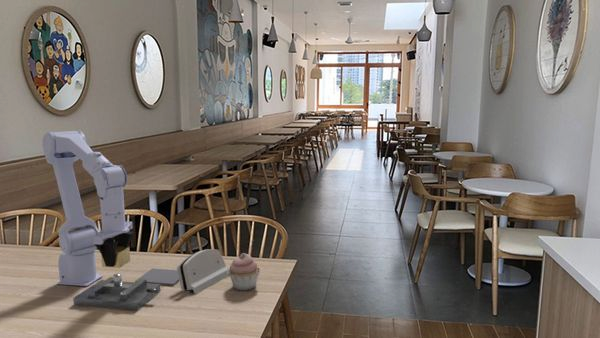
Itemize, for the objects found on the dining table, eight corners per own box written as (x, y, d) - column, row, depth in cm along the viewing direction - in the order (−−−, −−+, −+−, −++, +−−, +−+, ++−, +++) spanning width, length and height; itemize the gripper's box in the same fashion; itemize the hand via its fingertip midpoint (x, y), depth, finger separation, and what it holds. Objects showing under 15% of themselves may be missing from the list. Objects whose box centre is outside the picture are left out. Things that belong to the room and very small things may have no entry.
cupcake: (220, 286, 128) (219, 253, 127) (246, 277, 135) (245, 245, 134) (242, 296, 122) (241, 260, 121) (267, 286, 129) (267, 252, 127)
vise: (73, 305, 117) (71, 281, 116) (101, 286, 129) (100, 264, 128) (146, 311, 114) (145, 286, 113) (169, 291, 125) (167, 269, 124)
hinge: (195, 294, 123) (184, 259, 124) (182, 296, 126) (172, 262, 126) (232, 273, 138) (222, 242, 138) (220, 276, 140) (210, 245, 140)
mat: (135, 282, 131) (135, 280, 131) (152, 270, 141) (152, 268, 141) (173, 285, 129) (173, 283, 129) (188, 272, 139) (188, 270, 139)
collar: (102, 266, 118) (101, 252, 117) (113, 260, 123) (112, 245, 122) (119, 267, 117) (118, 253, 117) (130, 261, 122) (129, 246, 121)
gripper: (110, 220, 110) (114, 273, 112) (141, 206, 124) (144, 254, 126) (84, 219, 111) (88, 271, 113) (118, 205, 125) (121, 252, 128)
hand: (116, 262), depth 120 cm, fingers closed on collar, 5 cm apart
